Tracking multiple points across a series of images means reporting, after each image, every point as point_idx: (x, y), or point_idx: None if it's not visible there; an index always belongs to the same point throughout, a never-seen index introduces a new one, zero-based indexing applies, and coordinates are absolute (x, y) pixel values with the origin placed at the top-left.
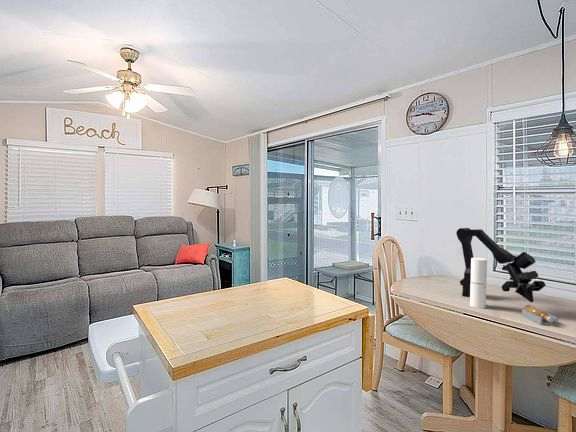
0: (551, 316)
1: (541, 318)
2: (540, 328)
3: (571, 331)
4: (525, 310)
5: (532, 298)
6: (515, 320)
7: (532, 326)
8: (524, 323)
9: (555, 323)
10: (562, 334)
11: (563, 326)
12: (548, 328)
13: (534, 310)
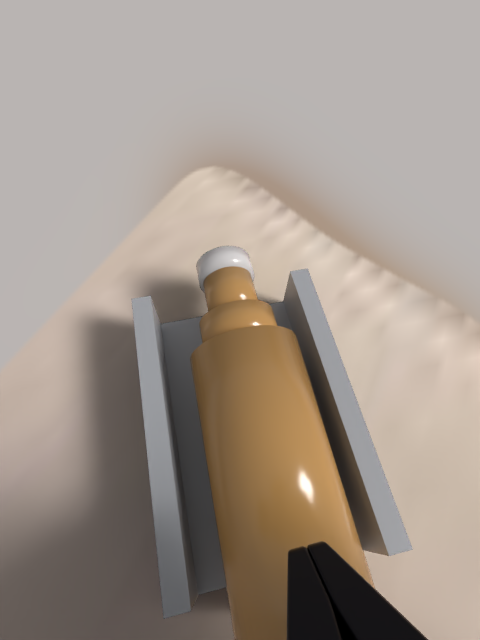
0: (159, 349)
1: (299, 273)
2: (329, 240)
3: (140, 223)
4: (382, 501)
5: (308, 596)
6: (474, 377)
7: (371, 266)
8: (413, 317)
9: (164, 323)
10: (236, 175)
11: (124, 303)
12: (271, 248)
13: (310, 406)
